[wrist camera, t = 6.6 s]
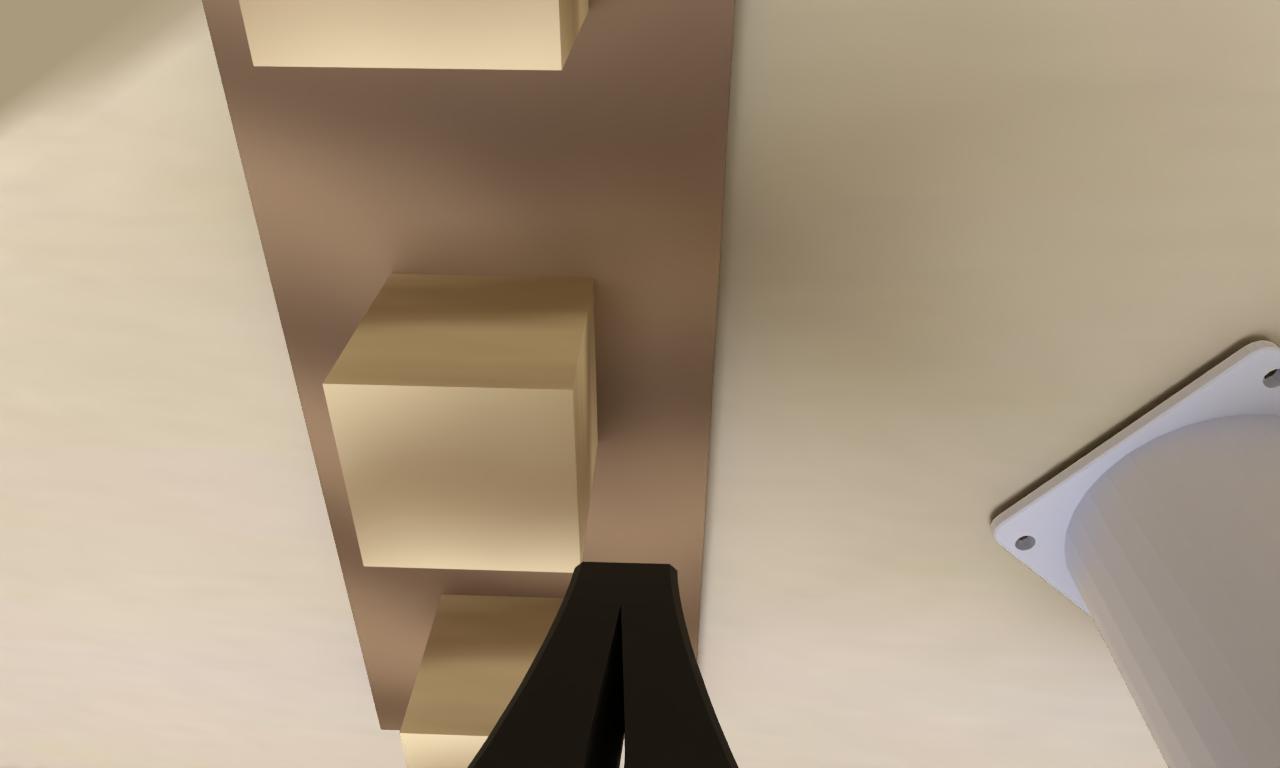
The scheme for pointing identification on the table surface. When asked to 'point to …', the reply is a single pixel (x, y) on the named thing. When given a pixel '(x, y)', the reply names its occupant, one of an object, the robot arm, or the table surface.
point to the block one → (413, 33)
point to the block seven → (471, 674)
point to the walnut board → (508, 260)
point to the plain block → (470, 422)
